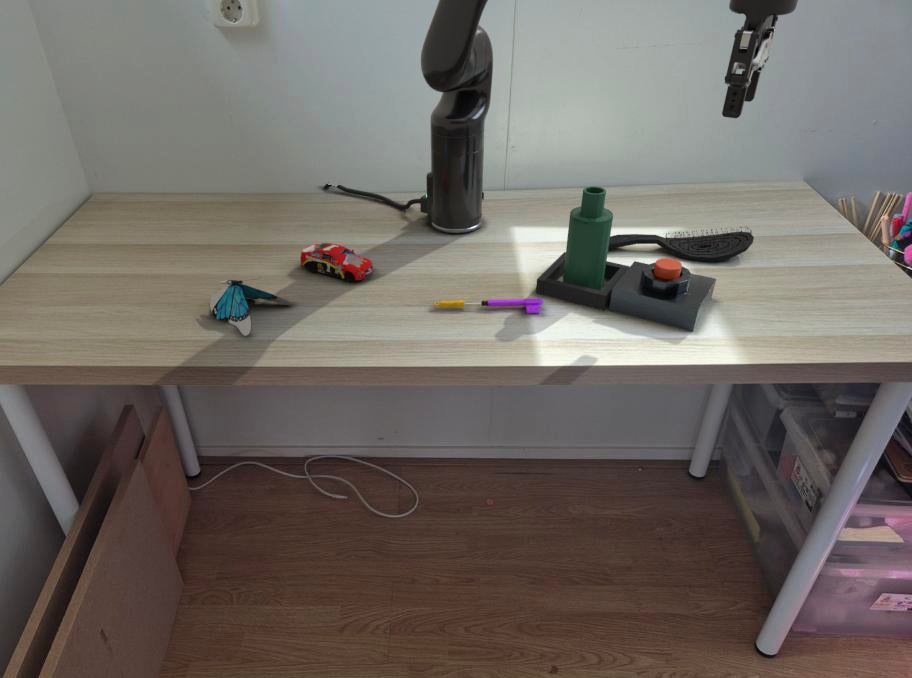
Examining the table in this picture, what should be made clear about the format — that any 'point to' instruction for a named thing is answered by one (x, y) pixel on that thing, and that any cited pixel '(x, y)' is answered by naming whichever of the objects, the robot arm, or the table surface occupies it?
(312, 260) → the race car
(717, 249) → the hairbrush
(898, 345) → the table surface
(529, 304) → the purple yellow slender tool
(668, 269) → the button
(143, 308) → the table surface
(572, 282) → the vase
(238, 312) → the decorative butterfly
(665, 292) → the panel with orange knob
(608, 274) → the dock
